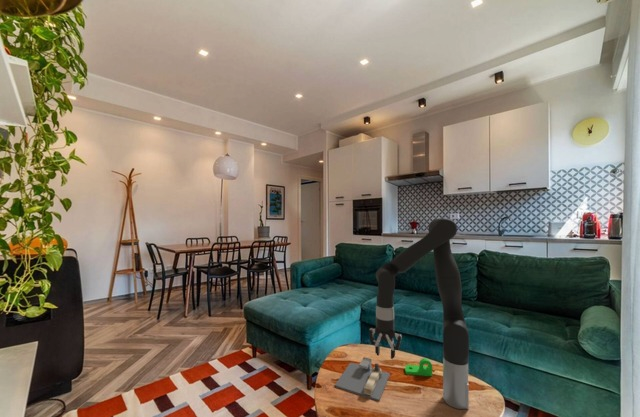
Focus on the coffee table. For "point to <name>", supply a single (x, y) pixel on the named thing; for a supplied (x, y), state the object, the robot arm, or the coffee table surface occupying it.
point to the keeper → (366, 363)
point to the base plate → (361, 381)
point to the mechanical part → (420, 368)
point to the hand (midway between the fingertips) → (385, 356)
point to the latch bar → (373, 379)
